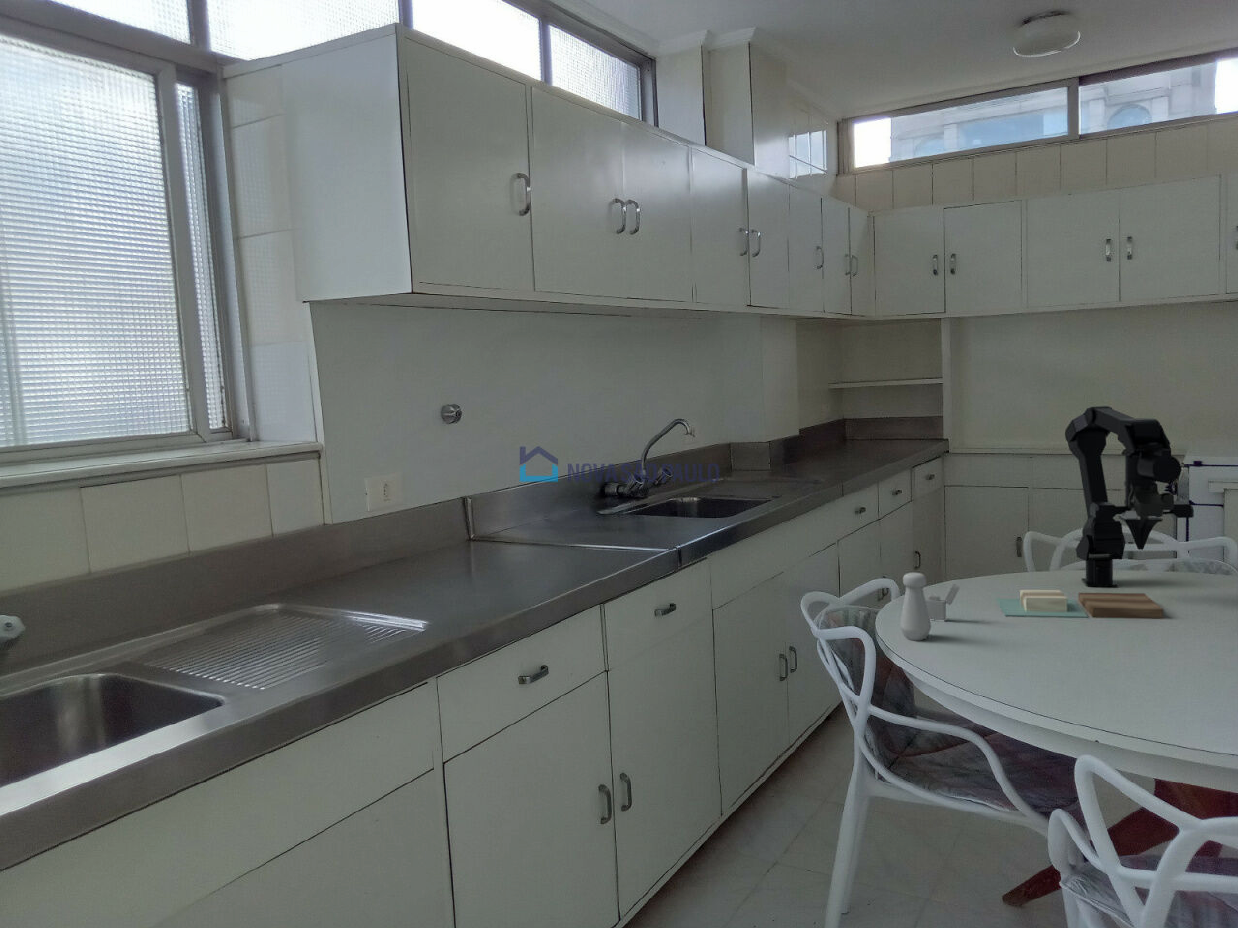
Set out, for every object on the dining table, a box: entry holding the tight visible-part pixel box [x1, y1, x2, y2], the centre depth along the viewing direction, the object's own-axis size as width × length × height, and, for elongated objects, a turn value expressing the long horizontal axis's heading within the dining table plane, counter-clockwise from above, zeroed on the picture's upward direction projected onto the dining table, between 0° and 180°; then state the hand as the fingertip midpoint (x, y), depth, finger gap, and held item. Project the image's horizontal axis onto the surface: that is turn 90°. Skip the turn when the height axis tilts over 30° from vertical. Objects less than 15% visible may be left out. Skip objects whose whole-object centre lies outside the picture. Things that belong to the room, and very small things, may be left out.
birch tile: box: [1019, 589, 1068, 612], centre depth 195 cm, size 7×8×3 cm
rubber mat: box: [995, 597, 1089, 619], centre depth 195 cm, size 14×16×1 cm
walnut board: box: [1078, 592, 1164, 620], centre depth 191 cm, size 13×13×2 cm
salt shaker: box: [900, 572, 932, 641], centre depth 178 cm, size 6×6×13 cm
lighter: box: [925, 583, 961, 620], centre depth 189 cm, size 7×2×8 cm, turn 57°
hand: (1140, 549), depth 194 cm, fingers closed
